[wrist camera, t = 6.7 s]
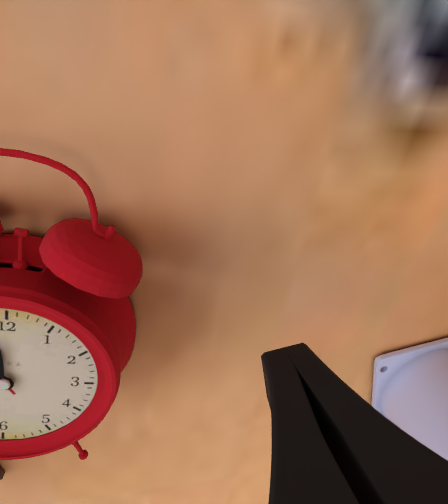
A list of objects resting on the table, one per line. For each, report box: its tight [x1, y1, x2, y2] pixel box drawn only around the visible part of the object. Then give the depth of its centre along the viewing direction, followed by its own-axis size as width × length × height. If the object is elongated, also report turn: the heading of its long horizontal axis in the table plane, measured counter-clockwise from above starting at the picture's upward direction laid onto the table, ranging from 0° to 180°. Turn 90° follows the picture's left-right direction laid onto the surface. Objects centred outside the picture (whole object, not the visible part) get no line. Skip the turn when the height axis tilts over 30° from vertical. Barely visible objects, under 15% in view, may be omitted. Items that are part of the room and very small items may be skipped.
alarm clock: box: [0, 148, 143, 460], centre depth 16 cm, size 10×6×15 cm
